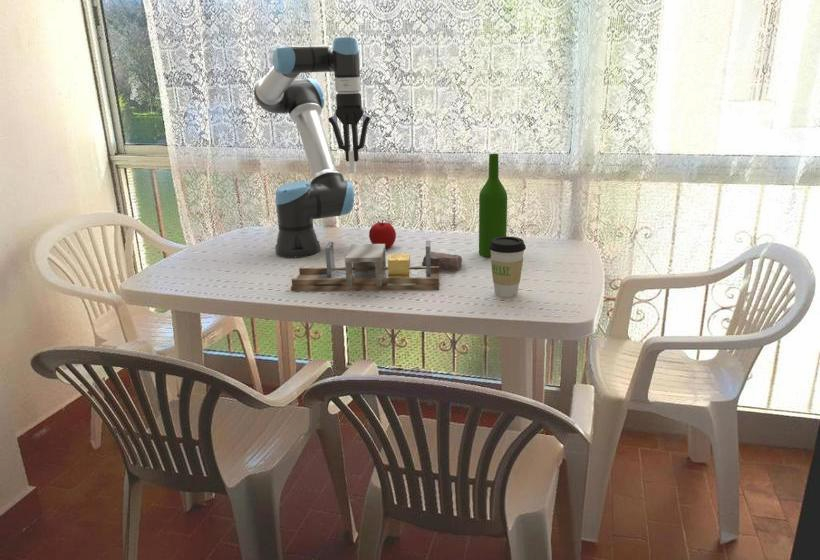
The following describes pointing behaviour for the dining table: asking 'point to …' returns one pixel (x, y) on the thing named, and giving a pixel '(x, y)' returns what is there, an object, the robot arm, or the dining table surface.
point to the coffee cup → (506, 264)
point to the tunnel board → (363, 260)
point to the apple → (382, 234)
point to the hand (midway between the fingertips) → (352, 172)
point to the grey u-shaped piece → (396, 269)
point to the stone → (444, 261)
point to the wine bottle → (492, 209)
